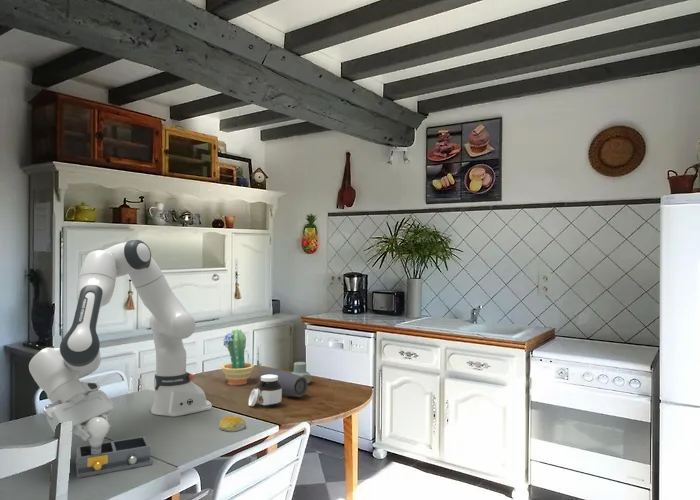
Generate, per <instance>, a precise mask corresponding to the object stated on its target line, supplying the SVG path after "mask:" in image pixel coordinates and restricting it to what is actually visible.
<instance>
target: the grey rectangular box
mask: <svg viewBox="0 0 700 500" xmlns="http://www.w3.org/2000/svg"><path fill="white" fill-rule="evenodd" d="M152 464H153V461H152V458H151V445H150V443H149V441H148V440H147V436H145V435H144V436H138V437H131V438H124V439H118V440H112V441H106V442H104V441H103V443H102V446H101V454H95V455H91V446H90V444H85V445H80V446H76V458H75V468H76V469H75V470H76V471H75V472H76V478H77V479H80V478H85V477H92V476H97V475H103V474H107V473H113V472H118V471H124V470H129V469H136V468H141V467H146V466H151V465H152Z"/></svg>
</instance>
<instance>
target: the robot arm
mask: <svg viewBox="0 0 700 500" xmlns="http://www.w3.org/2000/svg"><path fill="white" fill-rule="evenodd" d="M126 275H128V276H129V279H130V281H131V283H132V285H133V287H134V289H135V291H136V292H137V294H138V296H139V298H140V300H141V301H142V303H143V305H144V306H145V307H146V308H147V309H148V311H149V312H150V313H151V315H150V318H149V321H148V322H149V327H150V329H151V332H152V337H153V343H154V348H155V349H154V350H155V374H154V379H153V381H154V383H153V388H154V396H153V402H152V404H151V409H150V413H151V414H153V415H157V416H168V417H179V416H180V417H181V416H184V415H189V414H194V413H199V412H205V411H208V410H211V409H212V407H213V405H212V403H211V401H209V400H207V397H206V393H205V391H204V390H203V388H201V386H199V385H197V384H195V383H194V382H192V381H193V380H194V379H195V375H194V374H193V373H190V372H187V351H186V349H185V346H184V344H183V340H185V339H187V338H189V337H191V336H192V335H193V334H194V332H195V330H196V321H195V318H194V317H193V316H192V315H191V314H190V313H189V312H188V311H187V309H186V308H185V306H184V305H183V303H181V301H180V299H179V298H178V297H177V296H176V294H175V293H174V292H173V289H172V288H171V287H170V285H169V283H168V280H167V279H166V277H165V275H164V273H163V271H162V270H161V268H160V267H159V265H158V263H157V262H156V260H155V259H154V258H153V257H152V251H151V248H150V247H149V245H148V244H147V243H145V242H144V241H142V240H141V239H132V240H128V241H126V242H121V243H117V244H114V245H112V246H110V247H107V248H106V249H103V250H102V249H101V250H100V249H97V250H92V251H90V252H89V253H88V254H87V255H86V256H85V259H84V261H83V262H82V266H81V268H80V271H79V274H78V279H77V284H76V300H77V303H76V304H77V305H76V309H75V312H74V317H73V322H72V324H71V327H70V328H69V330H68V331H67V333H66V334H65V335H64V336H63V338H62V340H61V342H60V345H59V347H45V348H42V349H41V350H39V351H37V353H35V354H34V355H32V358H31V360H30V361H29V364H28V369H29V373H30V375H31V377H32V378H33V380H34V382H35V383H36V384H37V386H39V388H40V389H41V390H42V391H44V393H46V396H47V399H48V400H49V402H50V403H48V404H46V405H45V406H44V408H43V415H44V416H46V420H47V422H48V424H49V426H50V428H51V430H52V431H53V432H54V433H55V429H56V426H57V425H58V424H59V423H62V422H66V421H72V423H73V430H72V431H71V432H72V433H73V434H74V435H76V436H77V437H80V438H81V440H83V442H86V441H89V439H90V438H91V437H92V435H91V434H90V432H89V431H88V432H86V431H85V430H84V428H82V427H85V425H86V423H87V422H88V421H89V420H90V419H92V418H95V417H102V418H104V419H106V420H107V422H108V424H109V430H110V429H111V428H112V426H111V424H110V423H109V419H108V416H109V415H110V414H111V413H112V412H113V411H114V410H115V406H114V403H113V401H112V400H111V398H110V397H109V396H108V395H107V394H106V392H104V391H103V390H101V389H100V388H101V387H100V384H98V382H88V381H81V379H82V378H85V377H86V376H88V375H90V374H92V373H94V372H95V371H97V370H98V368H99V367H100V364H101V362H102V361H101V360H102V359H101V358H102V356H101V351H100V339H99V336H98V334H97V325H98V319H99V314H100V310H101V307H104V306H107V304H109V303H110V302H111V299H112V296H113V295H114V291H115V287H116V280H117V278H119V277H123V276H126Z"/></svg>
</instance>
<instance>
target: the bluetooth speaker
mask: <svg viewBox="0 0 700 500" xmlns="http://www.w3.org/2000/svg"><path fill="white" fill-rule="evenodd" d="M269 374H272V375H277V376H278V381H279V383H280V384H281V388H282V397H285V398H291V397H297V398H300V397H303V396H304V395H305V394H306V393H307V390H308V387H309V383H307V380H306V379H305V378H304V377H302V376H299V375H296V374H292V372H287V371H282V370H278V369H277V370H276V369H273V368H272V369H271V368H270V369H269V368H265V369H263V370H262V371H261V372H260V374H259V377H258V383H259V382H260V381H261V376H263V375H269Z"/></svg>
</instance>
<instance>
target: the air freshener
mask: <svg viewBox="0 0 700 500" xmlns="http://www.w3.org/2000/svg"><path fill="white" fill-rule="evenodd" d="M291 373H292V374H296V375H299V376H302V377H304V378H305V379H306V380H307V383H308V384H309V383H310V382H311V380H312V375H311V374H310V373H309V372H308V371H307V363H306V362H304V361H296V362H294V363H293V371H292V372H291Z"/></svg>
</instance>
